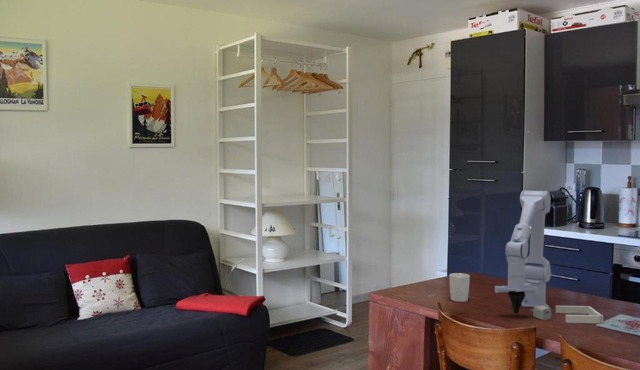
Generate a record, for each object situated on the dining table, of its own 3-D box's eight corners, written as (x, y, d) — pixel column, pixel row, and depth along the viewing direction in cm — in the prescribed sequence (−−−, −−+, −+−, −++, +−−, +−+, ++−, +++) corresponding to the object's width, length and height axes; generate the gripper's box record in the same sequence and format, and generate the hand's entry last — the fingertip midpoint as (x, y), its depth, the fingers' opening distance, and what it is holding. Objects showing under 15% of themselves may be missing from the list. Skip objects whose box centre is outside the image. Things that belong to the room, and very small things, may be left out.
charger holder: (566, 322, 197) (566, 315, 197) (555, 312, 210) (555, 305, 210) (603, 323, 196) (603, 316, 196) (589, 313, 209) (590, 306, 208)
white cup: (457, 303, 224) (457, 277, 224) (445, 298, 231) (445, 274, 231) (473, 301, 227) (473, 276, 227) (461, 296, 235) (461, 272, 234)
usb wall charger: (542, 320, 200) (542, 309, 200) (527, 315, 207) (527, 304, 206) (551, 319, 202) (551, 307, 202) (536, 314, 208) (536, 303, 208)
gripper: (497, 276, 201) (497, 315, 202) (540, 277, 200) (540, 316, 200) (493, 272, 208) (493, 309, 209) (535, 273, 207) (535, 310, 207)
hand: (516, 312), depth 205 cm, fingers closed
